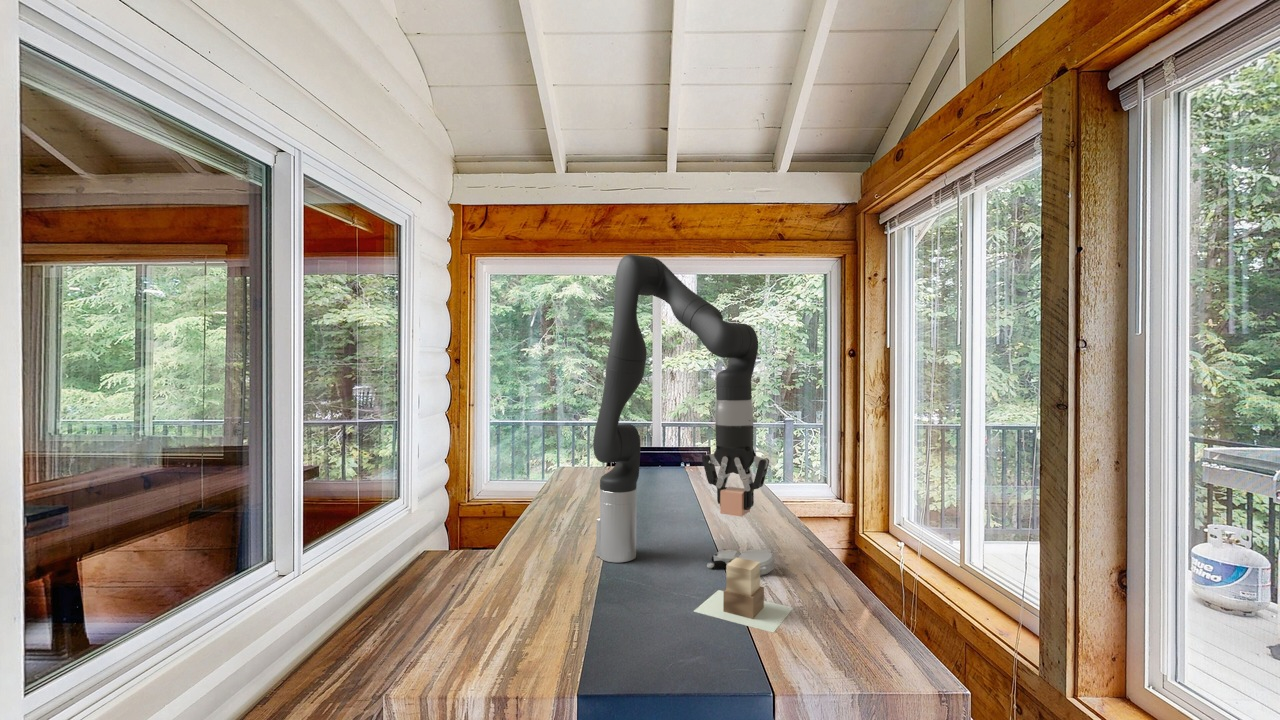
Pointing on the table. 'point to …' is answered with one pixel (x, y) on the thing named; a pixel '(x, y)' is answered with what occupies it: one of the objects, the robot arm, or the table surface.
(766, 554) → the robot toy
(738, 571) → the maple block
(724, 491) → the terracotta block
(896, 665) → the table surface
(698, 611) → the board
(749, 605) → the walnut block
